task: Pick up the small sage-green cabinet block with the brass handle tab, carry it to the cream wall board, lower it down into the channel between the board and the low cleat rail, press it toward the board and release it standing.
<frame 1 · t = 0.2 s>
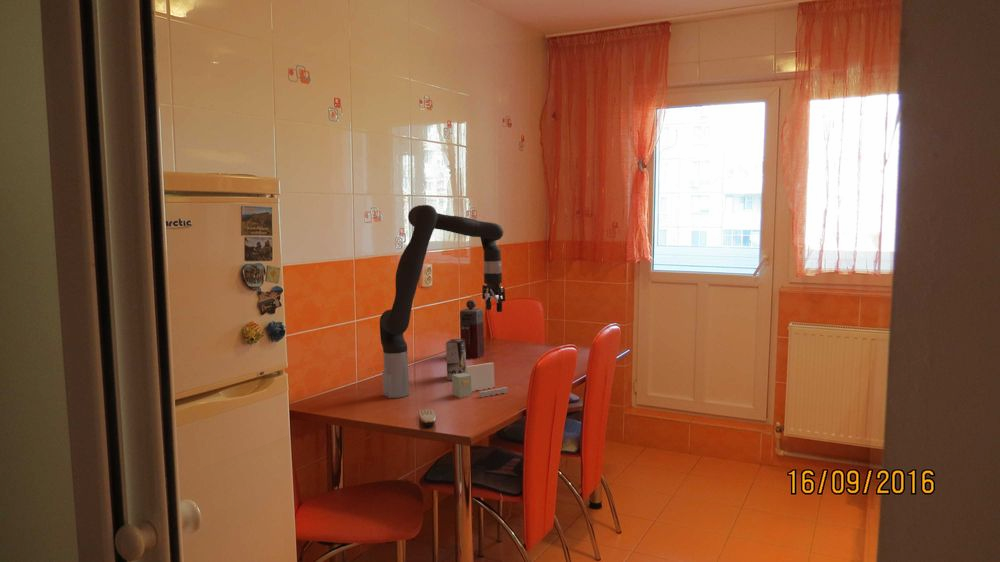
hand: (493, 310, 290), 29 cm above the table, tool pointing down, fingers open, 8 cm apart
cabinet block: (462, 395, 267), on the table
coffee box: (457, 378, 297), on the table
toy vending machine: (472, 357, 340), on the table
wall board: (480, 389, 275), on the table
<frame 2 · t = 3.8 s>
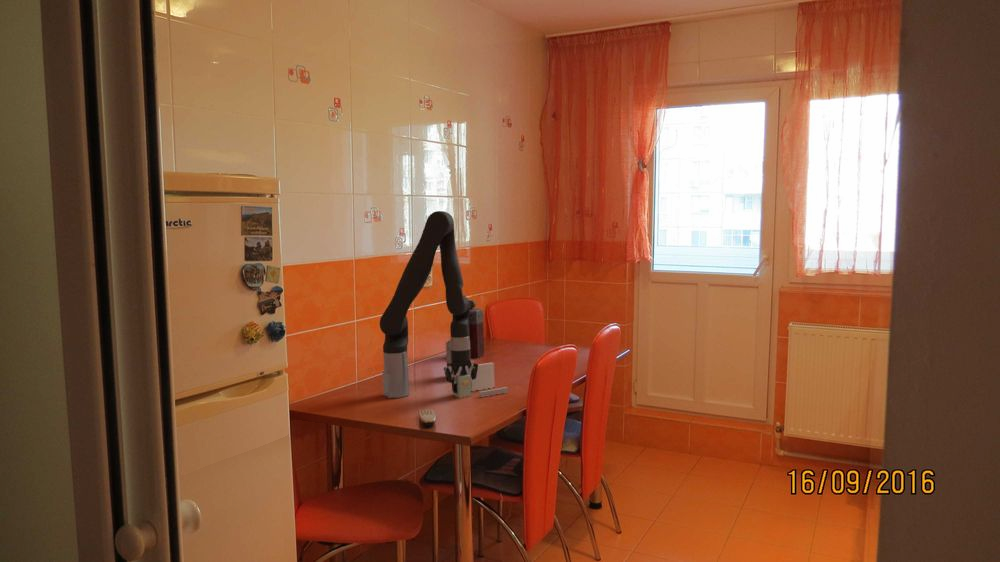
hand: (462, 391, 267), 1 cm above the table, tool pointing down, fingers closed on cabinet block, 5 cm apart
cabinet block: (462, 395, 267), on the table, touching gripper
everything else where it was.
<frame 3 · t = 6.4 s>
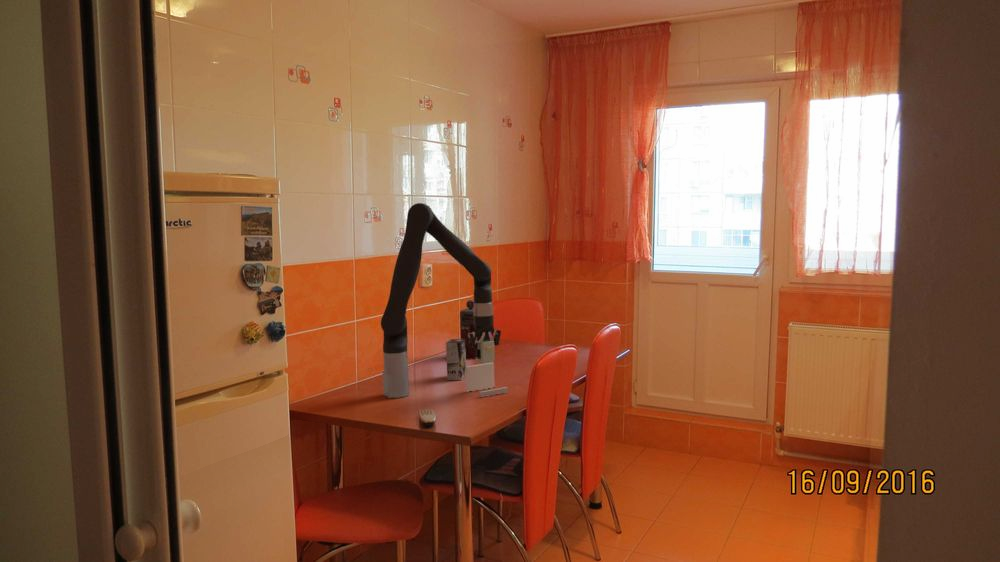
hand: (485, 357, 270), 14 cm above the table, tool pointing down, fingers closed on cabinet block, 5 cm apart
cabinet block: (485, 361, 270), point 12 cm above the table, touching gripper
everything else where it was.
when the fingers open (3 cm above the table, at t = 9.0 s): cabinet block drops 1 cm, on the table.
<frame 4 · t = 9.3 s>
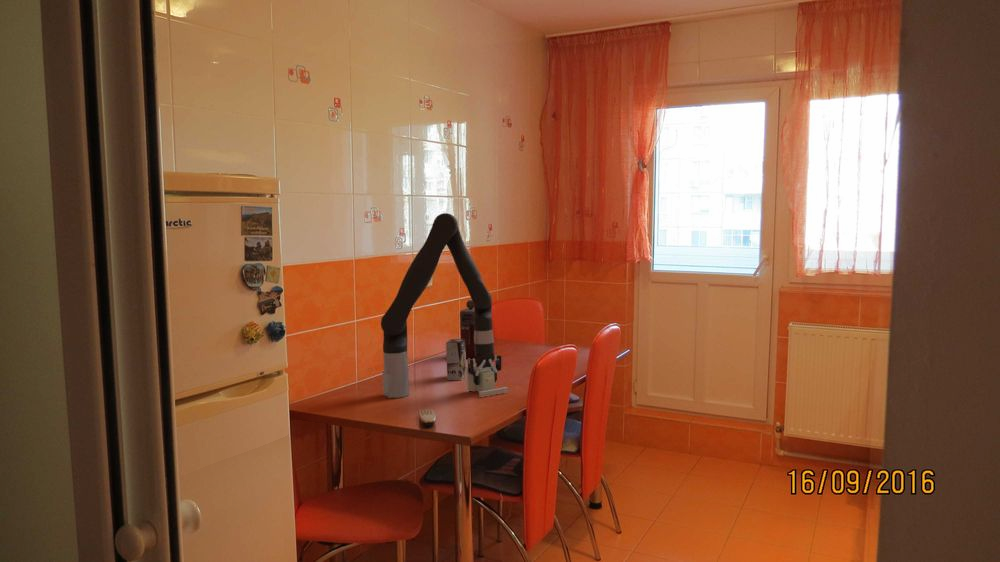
hand: (485, 383, 271), 3 cm above the table, tool pointing down, fingers open, 7 cm apart
cabinet block: (485, 391, 272), on the table
everything else where it was.
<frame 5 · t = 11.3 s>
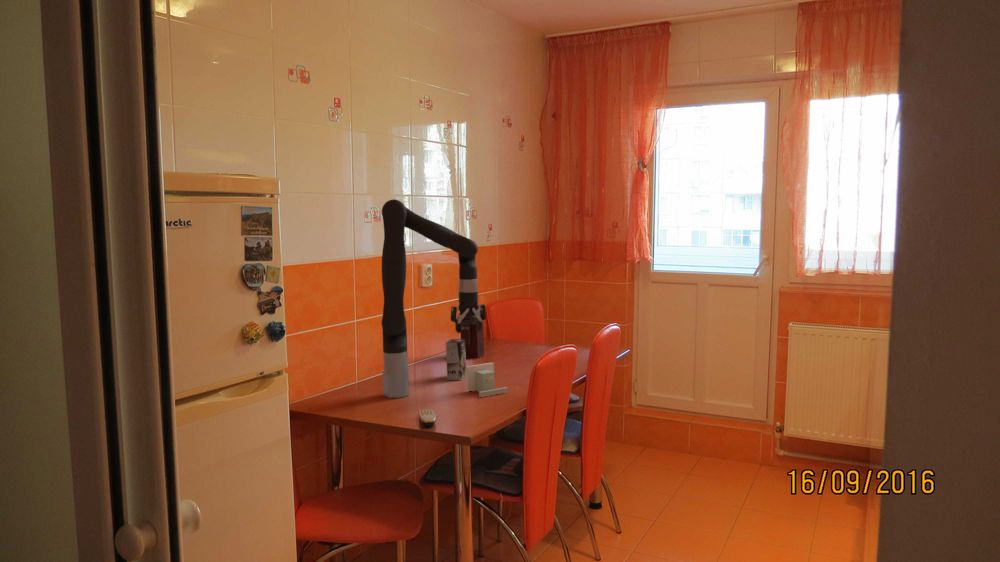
hand: (468, 331, 274), 23 cm above the table, tool pointing down, fingers open, 8 cm apart
nothing on the table moved.
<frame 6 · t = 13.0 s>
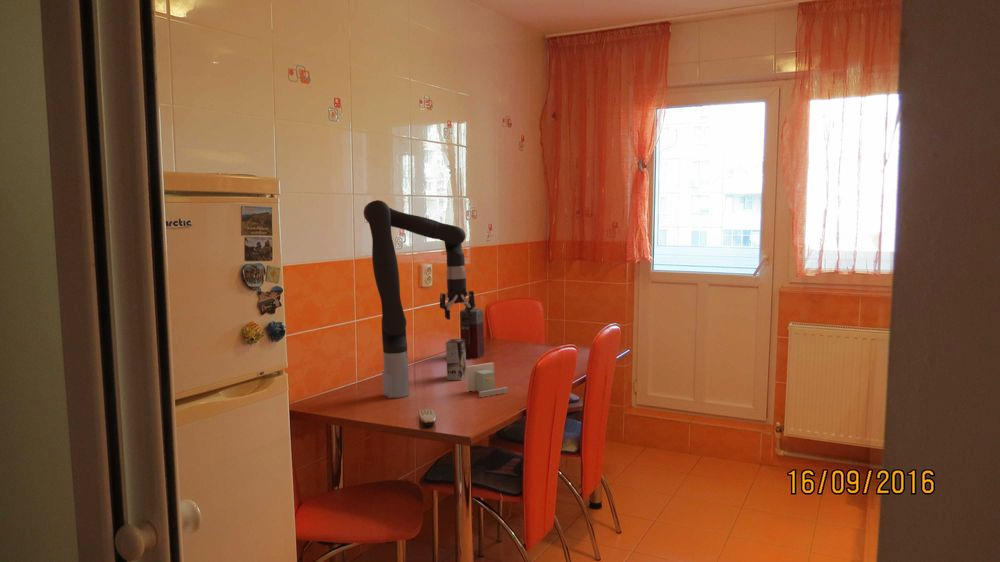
hand: (457, 318, 277), 28 cm above the table, tool pointing down, fingers open, 8 cm apart
nothing on the table moved.
at the end: cabinet block inside the target area (0.2 cm from its centre), on the table; cabinet block tilted 0°; the gripper is holding nothing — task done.
